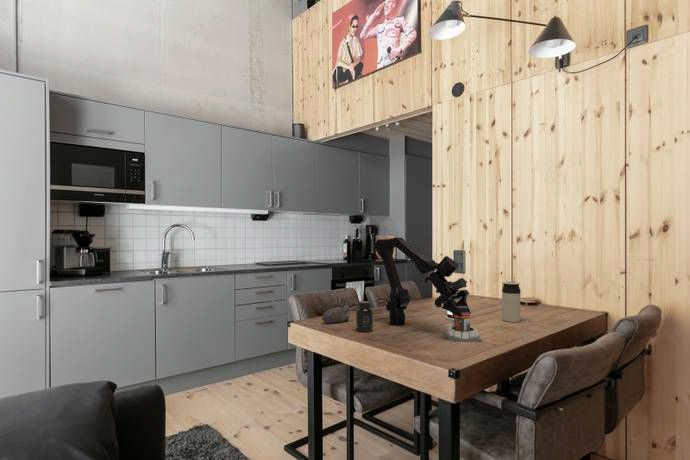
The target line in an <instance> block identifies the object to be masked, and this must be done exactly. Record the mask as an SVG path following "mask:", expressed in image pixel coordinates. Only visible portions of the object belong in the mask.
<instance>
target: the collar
mask: <svg viewBox="0 0 690 460" xmlns="http://www.w3.org/2000/svg"><path fill="white" fill-rule="evenodd" d="M444 334H445V336H446V337H447V339H448V340H449V342H470V343H471V342H472V343H473V342H476V343H482V342H483V339H482V338H481V337H480V336H479V330H478V328H476V327H474V326H471V325H470V331H457V330H454V325H450V326H447V330H445V331H444Z"/></svg>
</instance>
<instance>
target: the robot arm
mask: <svg viewBox="0 0 690 460" xmlns="http://www.w3.org/2000/svg"><path fill="white" fill-rule="evenodd" d="M374 248H375V251H376V253H377V255H378V256H379V257H380V258H381V260H382V263H383V266H384V267H383V268H384V269H385V273H386V276H387V280H388V283H389V286H390V287H389V288H390V293H389V300H390V301H389V302H388V303H387V304H386V305H385V309H386V311H389V320H388V325H390V326H392V325H393V326H404V325H405V323H406V313H405V312H404V310H407V308H408V305H409V304H410V303H411V299H410V298H411V295H410V294H409V290H408V289H407V288H404V287H403V286H402V283H401V280H400V276H399V273H398V270H397V267H396V266H397V265H396V263H395V259H394V257H393V256H394V251H395V248H397V249H398V250H399V251H400V252H402V253H403V254H404V255H405V256H406V257H407V258H408V259H410V260H411V261H412V262H413V263H414V266H415V268H417V270H418V271H419V273H420V274H429V275H426V276H425V279H424V283H425V284H426V283H431V285H433V287H434V288H435V293H436V294H439V295H438V297H437V298H436V299H435V300H434V305H435V307H436V308H438V309H439V308H441V309H444V310H446V311H447V312H450V313H452V314H455V315H457V316H459V317H462V314H461V312H460V311H459V309H458V307H457V306H466V307H467V311H468V312H469V313H470V314H471V310H470V308H469V305H468V302H467V298H468V296H469V295H470V294H471V293H470V292H469V290H468V289H465V288H467V283H468V281H467V280H466V279H465V278H464V277H460V278H458V279H457V280H455V281H453V282H452V281H448V280H447V278H450V277H451V276H452V275H453V273H455V272H456V271H457V270H458V269H459V263H457V261H456V260H454V259H452V258H451V257H449V255H445V256H444V257H443V258H442V259H441V261H439V262H436V261H435V260H434V259H432V258H431V257H429V256H426V255H423V253H422V254H421V252H420V251H418V250H417V249H416V248H414V247H413V246H412V245H411V244H409V243H408V242H407V241H406V240H405V239H404V238H403V237H400V236H399V237H393V238H379V239H377V240H376V241H375V242H374ZM446 277H447V278H446ZM462 288H463V289H462Z"/></svg>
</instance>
